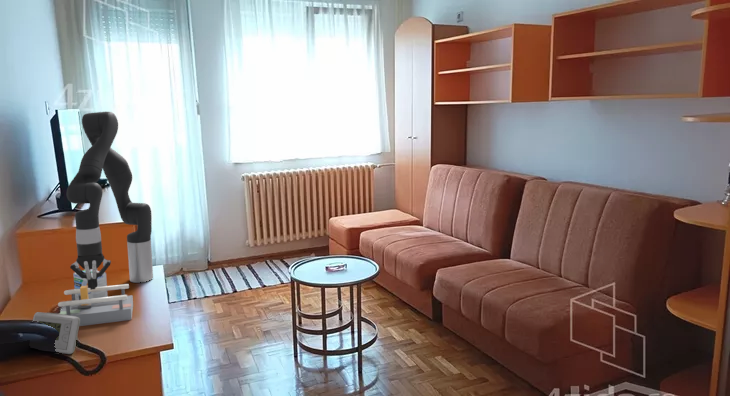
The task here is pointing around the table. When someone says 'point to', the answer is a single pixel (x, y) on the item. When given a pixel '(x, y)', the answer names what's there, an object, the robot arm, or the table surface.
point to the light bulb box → (84, 282)
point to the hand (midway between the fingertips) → (93, 288)
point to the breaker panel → (99, 306)
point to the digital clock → (61, 329)
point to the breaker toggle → (84, 297)
